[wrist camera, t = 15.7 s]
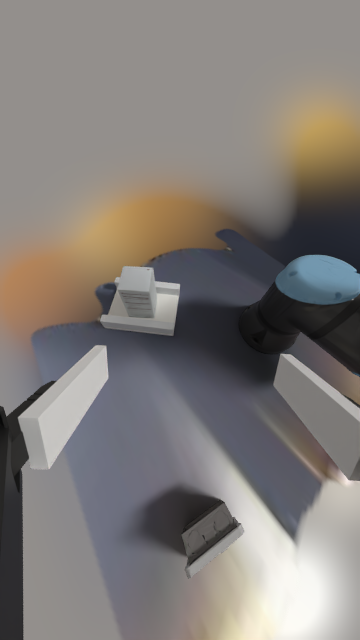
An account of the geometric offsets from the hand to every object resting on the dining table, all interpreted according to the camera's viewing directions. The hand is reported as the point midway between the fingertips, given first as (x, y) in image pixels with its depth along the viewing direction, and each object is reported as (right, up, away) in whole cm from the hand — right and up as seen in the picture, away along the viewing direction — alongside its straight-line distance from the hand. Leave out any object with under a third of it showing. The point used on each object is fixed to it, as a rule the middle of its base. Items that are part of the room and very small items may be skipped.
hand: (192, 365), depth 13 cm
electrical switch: (+4, -33, +19) cm, 38 cm away
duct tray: (-11, +7, +39) cm, 41 cm away
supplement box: (-11, +7, +38) cm, 41 cm away
